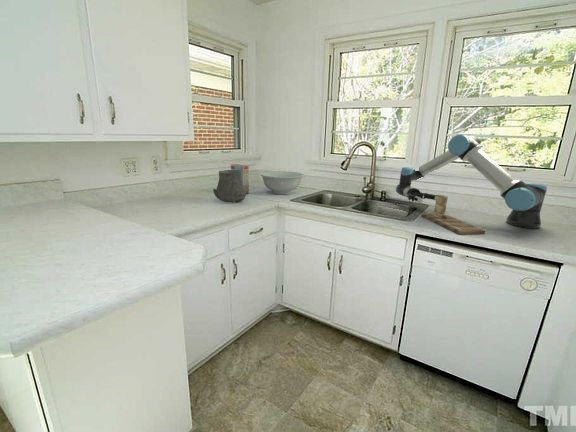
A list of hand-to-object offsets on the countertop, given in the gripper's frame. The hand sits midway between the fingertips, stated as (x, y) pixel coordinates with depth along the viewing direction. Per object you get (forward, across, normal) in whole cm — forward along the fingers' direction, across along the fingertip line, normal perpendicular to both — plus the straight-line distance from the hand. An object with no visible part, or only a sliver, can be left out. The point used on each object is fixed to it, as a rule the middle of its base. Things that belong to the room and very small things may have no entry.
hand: (432, 200), depth 173 cm
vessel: (-38, +118, -9) cm, 125 cm away
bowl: (-66, +81, -9) cm, 105 cm away
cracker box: (-65, +113, -9) cm, 131 cm away
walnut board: (+18, 0, -9) cm, 20 cm away
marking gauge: (+8, 0, -7) cm, 11 cm away
